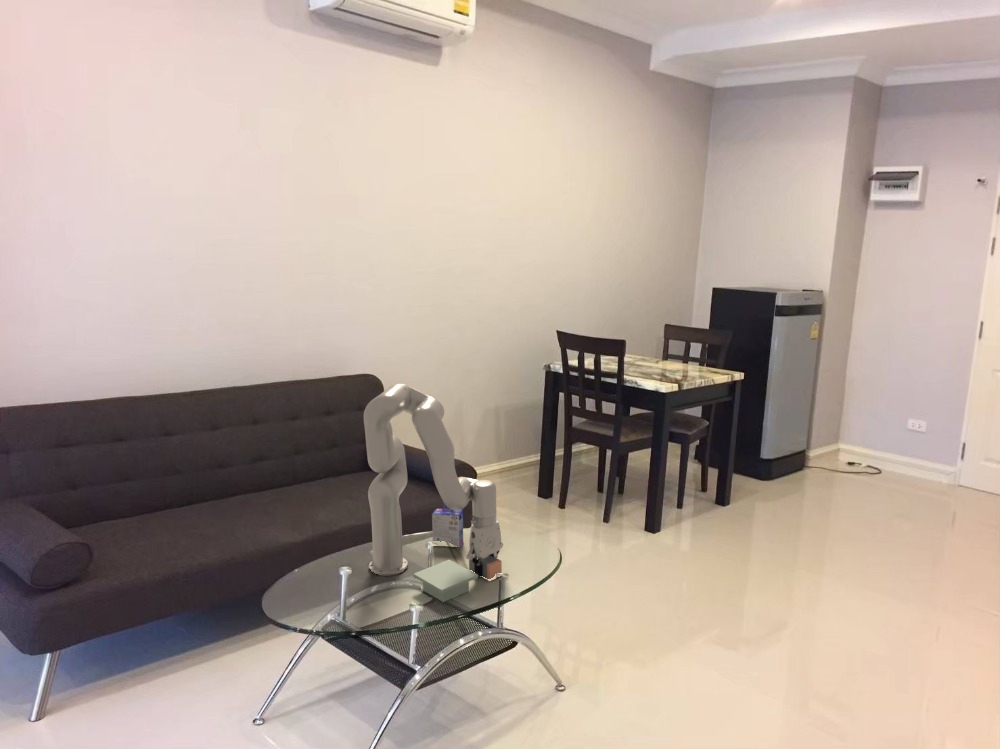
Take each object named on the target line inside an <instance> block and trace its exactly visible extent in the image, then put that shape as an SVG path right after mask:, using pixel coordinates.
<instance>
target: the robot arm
mask: <svg viewBox="0 0 1000 749" xmlns="http://www.w3.org/2000/svg"><path fill="white" fill-rule="evenodd" d="M403 412H405V413H407V414H409V415H411V422H412V424H413V426H414V429H415V431H416V433H417V436H418V437H419V440H420V441H421V443H422V445H423V447H424V450H425V452H426V455H427V456H428V460H429V464H430V468H431V473H432V476H433V477H432V478H433V481H434V484H435V487H436V489H437V491H438V493H439V495H440V498H441V499H442V501H443V504H444V503H445V504H446V506H445V507H446V508H450V509H452V510H455V511H458V510H463V509H465V508H466V507H467V505H468V504H469V502H470V501H471V502H472V504H471V505H472V506H471V507H472V509H471V510H472V520H470V523H471V525H470V532H469V550H468V551H467V554H466V556H465V559H467V560H468V561H469V560H470V561H472V562H473V563H474V571H475V573H476V574H478V575H479V576H478V577H480V576H482V565H481V561H482V558H483V557H485V556H488V555H491V556H493V557H495V558H497V559H498V557H499V556H498V555H499V554H500V551H501V549H502V548H503V546H504V543H503V542H502V535H501V534H502V532H501V527H500V523H499V520H497V485H496V483H495V482H494V481H492V480H489V479H475V478H471V477H467V476H466V477H465V476H459V477H458V475H457V471H456V466H455V446H454V443H453V442H452V440H451V437H450V435H449V433H448V431H447V428H446V427H445V425H444V422H443V421H442V420H443V417H444V414H445V409H444V405H443V403H441V402H440V401H439V400H438V399H437V398H435V397H433V396H431V395H429V394H426V393H424V392H422V391H420V390H418V389H416V388H414V387H412V386H410V385H407V384H405V383H394V384H391V385H390V386H389V387H388V388H387V389H385V390H384V391H382V392H381V393H380V394H379V395H377V396H376V397H374V398H373V399H371V400H370V402H368V404H366V406H365V409H364V411H363V426H364V434H365V445H366V447H365V448H366V456H367V462H368V466H369V467H370V468H371V471H373V472H375V473H378V475H377V476H376V477H375V478H374V479H373V480H372V481H371V484H370V485H369V487H368V491H367V496H368V502H369V508H370V519H371V520H370V521H371V536H372V539H371V540H372V549H371V550H369V553H368V554H370V555H371V556H372V560H371V561H370V562H369V563H368V569H369V568H370V569H371V571H373V572H374V573H377V574H378V575H377V576H382V577H383V576H385V577H387V576H388V577H389V576H395V575H399V574H401V573H403V572H405V571H406V570H407V569H408V567H407V566H409V563H408V560H407V559H406V558H404V556H403V554H404V553H403V552H404V551H403V531H402V530H403V528H402V526H403V525H402V511H401V507H400V501H399V500H400V499H399V498H400V495H401V494H402V493H403V491H404V490H405V488H407V487H406V486H407V484H408V469H407V460H406V451H405V446H404V444H403V442H402V440H401V439H400V438H399V437H398V436H396V435H394V434H393V433H394V432H393V427H392V423H391V420H392V419H393V418H395V417H397V416H399V415H400V414H401V413H403ZM473 554H474V556H473ZM477 557H478V560H477ZM406 568H407V569H406ZM405 569H406V570H405ZM404 570H405V571H404ZM371 571H370V572H371ZM374 573H373V574H374Z"/></svg>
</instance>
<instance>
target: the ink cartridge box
mask: <svg viewBox="0 0 1000 749" xmlns="http://www.w3.org/2000/svg"><path fill="white" fill-rule="evenodd" d="M463 512H464V511H463V509H461V510H458V511H455V510H452V509H450V508H448V507H447V506H446V504H445V503H444V502H443V505H442V508H436V509H435V510H434V511H433V513H431V520H432V522H431V525H432V526H431V527H432V542H433V541H440V542H441V541H445V542H449V543H451V544H453V545H455V546H457V547H459V548H458V549H460V548H461V547H462V545H463V544H464V514H463Z"/></svg>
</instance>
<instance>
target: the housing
mask: <svg viewBox="0 0 1000 749" xmlns="http://www.w3.org/2000/svg"><path fill="white" fill-rule="evenodd" d="M473 556H474V554H473ZM477 560H478V557H477ZM468 565H469V566H468V570H472V571H473V572H475V571H474V563H473V562H472V561H470V560H469V559H468ZM481 565H482V576H483V577H485V578H487V579H491V578H493V577H494V576H495V574H497V573H502V571H503V570H502V569H503V568H502V567H503V566H502V560H501V559H499V558H498V557H497V558H495V557H493V556H491V555H488V556H485V557H483V558H482V561H481Z"/></svg>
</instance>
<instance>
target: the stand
mask: <svg viewBox="0 0 1000 749" xmlns="http://www.w3.org/2000/svg"><path fill="white" fill-rule="evenodd" d="M413 578H415V579H417V580H418V581H420V582H421V583H422V591H424V592H425V593H427V594H429V595H430V596H432V597H433V598H436V599H437V600H439V601H440V602H442V603H445V602H447V601H450V600H452V599H454V598H457V597H458V596H461V595H464V594H466V593H467V592H469V591H470V581H474V580H476V579H478V578H479V576H478V574H476V573H474V572H472V571H470V570H469V568H466V567H464V566H463V565H460V564H459V563H457V562H455V561H453V560H452V559H447V560H444V561H442V562H439V563H437V564H434V565H433V566H432V565H431V566H428V567H427V568H425V569H422V570H420V571H417V572H414V573H413Z"/></svg>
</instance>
